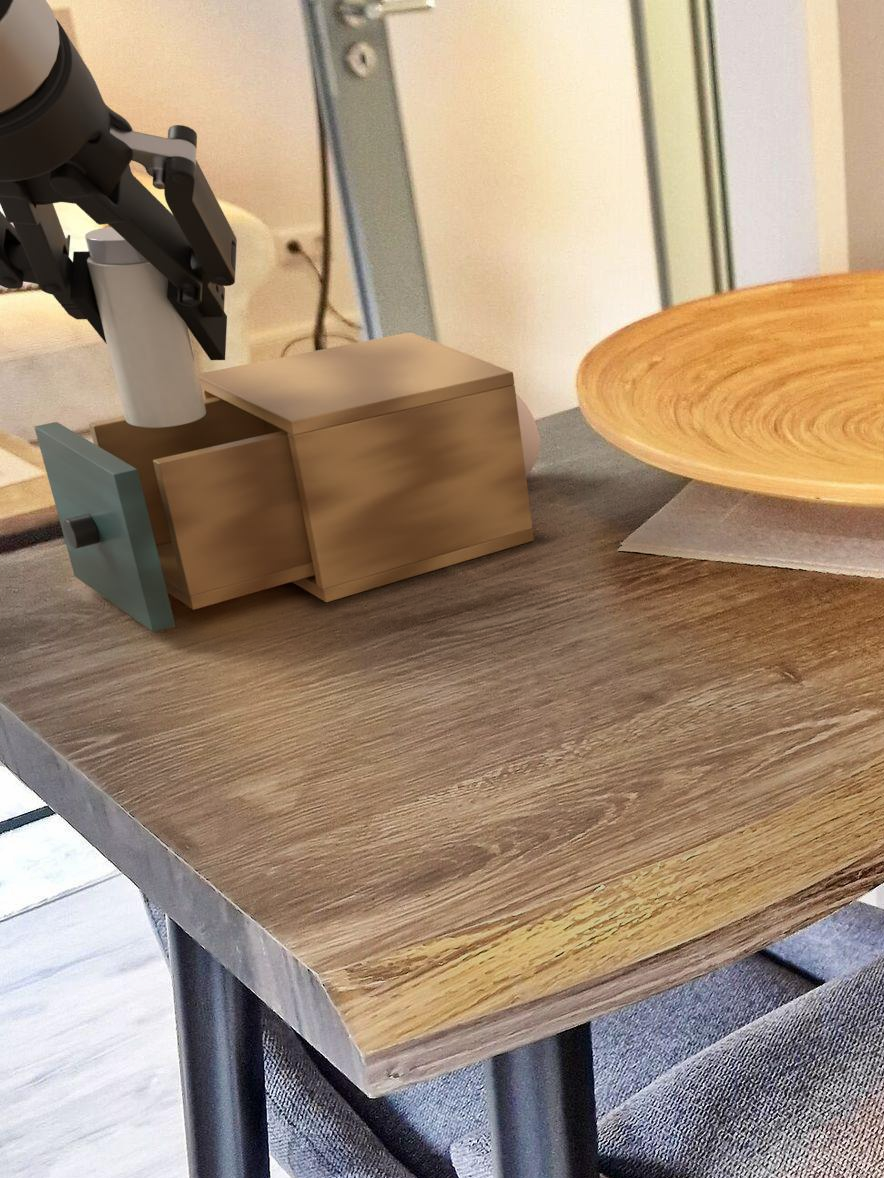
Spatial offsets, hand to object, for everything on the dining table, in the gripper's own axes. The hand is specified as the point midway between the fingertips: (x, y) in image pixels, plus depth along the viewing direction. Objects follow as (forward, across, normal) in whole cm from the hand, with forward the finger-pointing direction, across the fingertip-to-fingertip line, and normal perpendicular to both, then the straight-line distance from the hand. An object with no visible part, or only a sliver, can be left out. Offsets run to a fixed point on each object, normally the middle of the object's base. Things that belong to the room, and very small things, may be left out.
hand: (173, 338), depth 93 cm
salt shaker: (0, 0, -5) cm, 5 cm away
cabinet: (+12, +8, -7) cm, 16 cm away
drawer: (+7, 0, -11) cm, 13 cm away
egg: (+19, +14, 0) cm, 24 cm away
